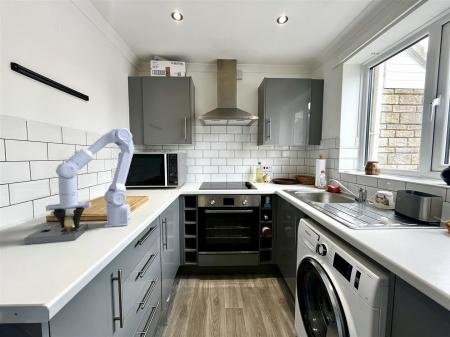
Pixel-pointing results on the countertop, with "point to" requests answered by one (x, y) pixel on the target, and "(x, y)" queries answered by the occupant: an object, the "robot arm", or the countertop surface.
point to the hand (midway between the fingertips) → (70, 226)
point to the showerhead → (68, 212)
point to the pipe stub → (69, 223)
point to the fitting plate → (55, 234)
